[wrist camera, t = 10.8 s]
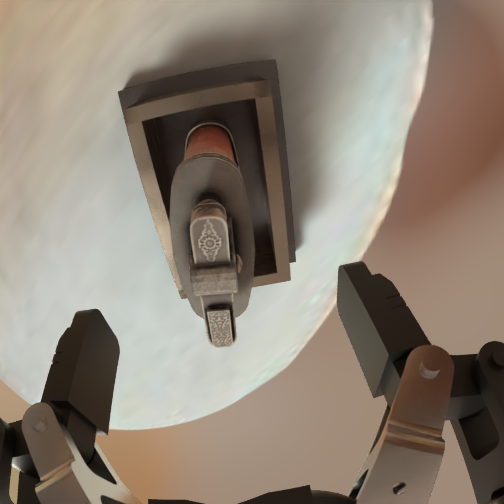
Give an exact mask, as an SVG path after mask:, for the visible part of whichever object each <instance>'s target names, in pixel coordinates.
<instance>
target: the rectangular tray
mask: <svg viewBox="0 0 504 504" xmlns="http://www.w3.org/2000/svg"><path fill="white" fill-rule="evenodd" d="M118 94H119V99H120V103H121V107H122V111H123V115H124V119H125V123H126V127H127V131H128V135H129V139H130V143H131V146H132V150H133V154H134V157H135V161H136V164H137V168H138V171H139V175H140V178H141V181H142V185H143V188H144V191H145V195H146V198H147V201H148V204H149V208H150V211H151V214H152V217H153V220H154V223H155V226H156V229H157V232H158V235H159V238H160V241H161V244H162V247H163V250H164V253H165V256H166V258H167V261H168V264H169V267H170V270H171V272H172V275H173V278H174V281H175V283H176V286H177V288H178V291H179V294H180V296H181V299H186V298H187V296H186V294H185V292H184V290H183V288H182V285H181V282H180V279H179V275H178V272H177V269H176V265H175V262H174V258H173V252H172V243H171V233H170V223H169V220H170V199H171V185H172V181H173V178H174V175H175V172H176V169H177V168H178V166H179V165H180V164H181V163H182V162H183V161H184V154H185V144H186V139H187V136H188V133H189V131H190V129H191V128H192V127H193V126H194V125H195V124H197V123H199V122H201V121H205V120H217V121H220V122H222V123H224V124H225V125H226V126H228V127H229V129H230V131H231V133H232V136H233V140H234V144H235V148H236V152H237V156H238V160H239V167H240V172H241V175H242V179H243V183H244V187H245V191H246V195H247V199H248V203H249V207H250V211H251V215H252V224H253V234H254V243H255V262H254V278H253V284H252V287H257V286H263V285H268V284H274V283H279V282H285V281H290V280H291V277H290V264H289V263H292V262H296V257H295V242H294V229H293V216H292V204H291V193H290V182H289V171H288V161H287V151H286V141H285V132H284V123H283V114H282V106H281V97H280V89H279V81H278V73H277V66H276V60H266V61H257V62H249V63H241V64H234V65H228V66H222V67H216V68H210V69H205V70H200V71H195V72H190V73H185V74H181V75H176V76H172V77H168V78H164V79H160V80H156V81H152V82H148V83H145V84H141V85H137V86H134V87H131V88H127V89H124V90H121V91H118Z"/></svg>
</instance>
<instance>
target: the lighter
mask: <svg viewBox="0 0 504 504" xmlns="http://www.w3.org/2000/svg"><path fill="white" fill-rule="evenodd" d="M169 223H170V233H171V243H172V252H173V258H174V262H175V265H176V269H177V272H178V275H179V279H180V282H181V285H182V288H183V290H184V292H185V294H186V296H187V298H188V300H189V302H190V305H191V307H192V309H193V310H194V312H195V313H196V314H197V315H198V316H200V317H202V318H204V320H205V326H206V331H207V336H208V340H209V343H210V344H212V345H214V346H215V347H218V348H222V347H230V346H231V345H232V344H233V343H235V342H236V339H237V335H236V324H235V318H236V317H238V316H240V315H241V314H242V313H243V312H244V311H245V310H246V308H247V306H248V303H249V298H250V293H251V289H252V284H253V278H254V262H255V243H254V234H253V224H252V215H251V211H250V207H249V203H248V199H247V195H246V191H245V187H244V183H243V179H242V175H241V172H240V167H239V160H238V156H237V152H236V148H235V144H234V140H233V136H232V133H231V131H230V129H229V127H228V126H226V125H225V124H224V123H222V122H220V121H217V120H205V121H201V122H199V123H197V124H195V125H194V126H193V127H192V128H191V129H190V131H189V133H188V136H187V139H186V144H185V154H184V161H183V162H182V163H181V164H180V165H179V166H178V168H177V169H176V172H175V175H174V178H173V181H172V185H171V199H170V220H169Z"/></svg>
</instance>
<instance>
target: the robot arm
mask: <svg viewBox="0 0 504 504" xmlns="http://www.w3.org/2000/svg"><path fill="white" fill-rule="evenodd" d="M337 306H338V312H339V316H340V317H341V320H342V323H343V325H344V327H345V330H346V332H347V334H348V337H349V339H350V342H351V344H352V346H353V349H354V351H355V354H356V356H357V358H358V361H359V363H360V366H361V368H362V371H363V373H364V376H365V378H366V380H367V383H368V386H369V388H370V391H371V393H372V396H373V398H376V397H378V396H381V395H384V396H385V399H386V401H387V406H386V408H385V411H384V414H383V417H382V419H381V422H380V425H379V428H378V430H377V433H376V436H375V438H374V441H373V443H372V446H371V448H370V450H369V453H368V455H367V457H366V459H365V461H364V463H363V465H362V467H361V469H360V471H359V473H358V475H357V477H356V480H355V482H354V484H353V486H352V488H351V490H350V492H349V494H348V496H345V495H342V494H339V493H334V492H329V491H320V490H311V489H310V485H307V486H302V487H298V488H292V489H287V490H281V491H275V492H269V493H266V494H263V495H261V496H258V497H255V498H253V499H250V500H247V501H244V502H242V503H239V504H428V501H429V498H430V496H431V493H432V490H433V487H434V484H435V481H436V478H437V475H438V471H439V468H440V465H441V462H442V458H443V454H444V450H445V441H444V440H443V439H442V431H443V427H444V422H445V420H450V422H451V424H452V427H453V429H454V432H455V435H456V438H457V440H458V443H459V446H460V449H461V452H462V454H463V457H464V460H465V463H466V466H467V469H468V473H469V476H470V479H471V482H472V485H473V489H474V492H475V496H476V500H477V503H478V504H504V343H502V342H498V341H492V342H488V343H486V344H485V345H484V346H483V347H482V348H481V350H480V351H479V353H478V354H469V355H449V353H448V352H447V351H445V350H444V349H442V348H441V347H438V346H435V345H432V344H431V343H430V342H429V341H428V339H427V337H426V335H425V334H424V332H423V331H422V329H421V327H420V325H419V324H418V322H417V320H416V319H415V317H414V316H413V314H412V312H411V311H410V309H409V308H408V306H406V303H405V301H404V300H403V298H402V297H400V293H399V292H398V290H397V289H396V287H395V286H394V284H393V283H392V282H391V281H390V280H388V279H387V278H385V277H384V276H383V275H381V274H375V275H372V274H371V273H370V271H369V270H368V268H367V266H366V265H365V263H364V262H362V261H359V262H354V263H350V264H345V265H340V266H339V269H338V288H337ZM55 352H56V354H54V357H53V361H52V362H53V364H51V367H50V370H49V374H48V377H47V381H46V384H45V388H44V392H43V395H42V399H41V402H39V403H36V404H34V405H32V406H31V407H30V408H28V410H27V411H26V412H25V414H24V416H23V419H22V420H19V421H16V422H13V423H9V424H7V423H6V422H5V421H3V420H2V419H1V418H0V504H14V503H13V502H12V501H11V499H10V496H9V485H10V476H11V467H14V468H16V469H18V470H19V471H20V473H19V484H18V499H17V504H143V503H142V502H141V501H140V500H139V499H138V498H137V497H136V496H135V495H134V494H133V493H132V492H131V491H129V490H128V489H127V488H126V487H125V486H124V484H123V483H122V482H121V480H120V479H119V477H118V476H117V474H116V473H115V471H114V470H113V468H112V467H111V465H110V464H109V462H108V460H107V459H106V458H105V456H104V454H103V452H102V451H101V449H100V448H99V446H98V445H97V444H96V443H95V436H96V435H108V430H109V421H110V413H111V405H112V398H113V391H114V384H115V378H116V372H117V366H118V360H119V354H120V349H119V343H118V340H117V338H116V336H115V334H114V333H113V331H112V330H111V328H110V327H109V325H108V323H107V322H106V320H105V318H104V317H103V315H102V314H101V312H100V311H99V310H98V309H90V310H84V311H78V312H76V314H75V316H74V318H73V321H72V324H71V327H69V328H67V329H66V331H65V332H64V334H63V335H62V336H61V338H60V339H59V342H58V345H57V348H56V351H55ZM148 504H203V503H198V502H193V501H189V500H158V499H148Z"/></svg>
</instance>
